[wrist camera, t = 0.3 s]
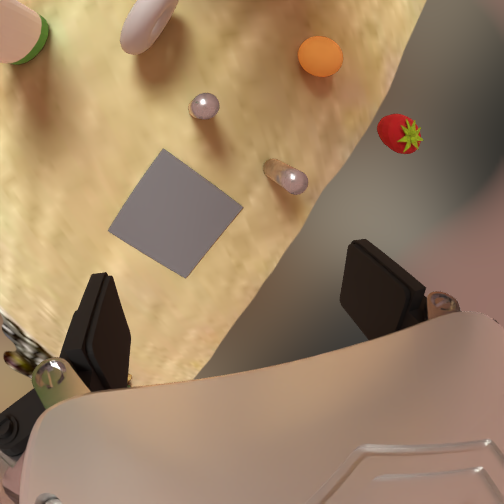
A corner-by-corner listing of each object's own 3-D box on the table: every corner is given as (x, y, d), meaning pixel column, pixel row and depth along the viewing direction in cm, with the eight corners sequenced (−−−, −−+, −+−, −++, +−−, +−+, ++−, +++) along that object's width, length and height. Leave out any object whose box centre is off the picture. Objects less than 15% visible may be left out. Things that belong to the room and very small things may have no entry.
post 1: (197, 93, 33) (203, 87, 26) (214, 106, 35) (224, 104, 27) (183, 110, 34) (185, 108, 26) (200, 122, 35) (207, 124, 27)
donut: (145, 64, 30) (135, 49, 21) (122, 56, 28) (105, 39, 20) (183, 4, 27) (187, -26, 18) (161, -4, 25) (158, -35, 17)
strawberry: (390, 153, 44) (431, 167, 35) (357, 138, 41) (398, 148, 33) (399, 122, 41) (442, 130, 33) (367, 104, 39) (410, 108, 30)
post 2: (272, 154, 40) (296, 166, 32) (285, 166, 41) (312, 181, 33) (259, 169, 40) (280, 184, 32) (273, 181, 41) (297, 199, 34)
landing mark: (163, 148, 36) (163, 148, 35) (242, 206, 42) (243, 207, 42) (108, 230, 38) (107, 230, 38) (185, 277, 45) (185, 278, 45)
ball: (308, 33, 32) (328, 24, 27) (336, 61, 35) (359, 57, 30) (282, 57, 33) (299, 50, 28) (312, 86, 36) (333, 84, 31)
